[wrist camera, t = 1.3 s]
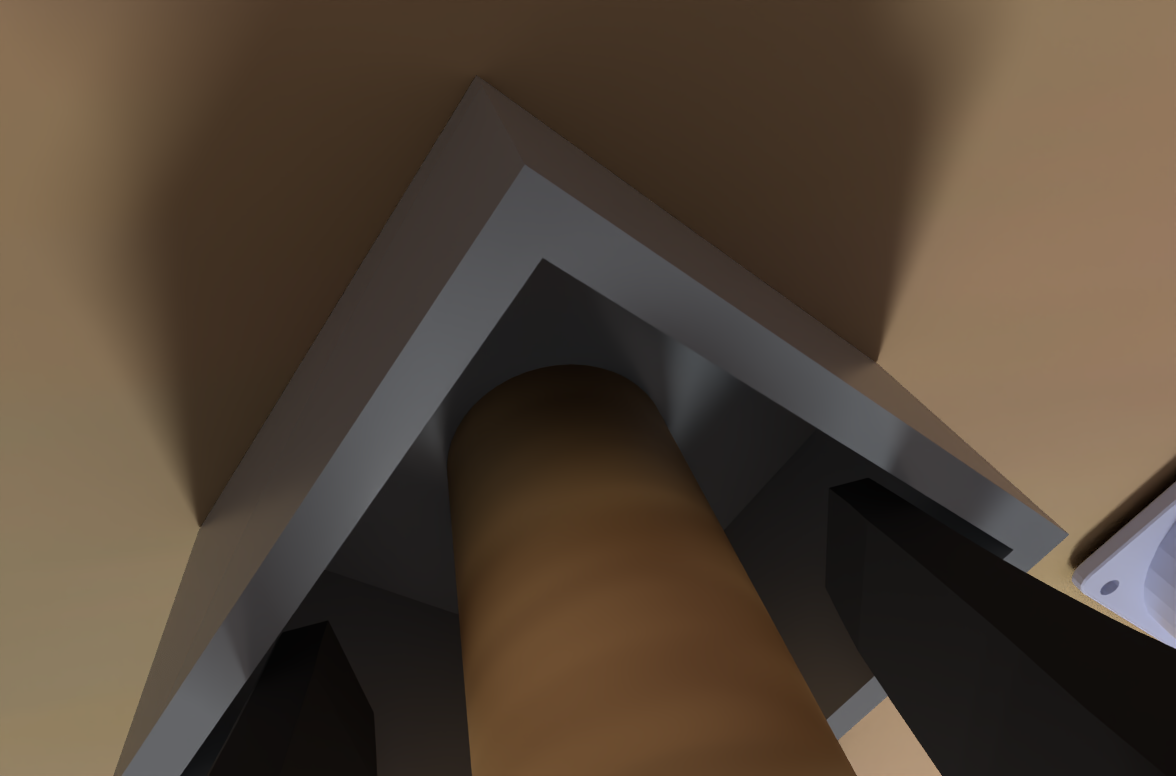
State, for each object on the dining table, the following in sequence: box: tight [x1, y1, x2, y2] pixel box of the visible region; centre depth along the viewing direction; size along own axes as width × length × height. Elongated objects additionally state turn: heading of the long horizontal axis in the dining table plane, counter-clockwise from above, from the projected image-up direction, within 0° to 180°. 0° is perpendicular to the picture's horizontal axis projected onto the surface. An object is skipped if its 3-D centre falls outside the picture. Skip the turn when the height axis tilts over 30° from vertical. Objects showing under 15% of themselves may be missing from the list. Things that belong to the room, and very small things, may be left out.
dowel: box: [447, 364, 857, 776], centre depth 11 cm, size 4×4×7 cm
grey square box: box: [114, 75, 1069, 776], centre depth 12 cm, size 9×9×5 cm
